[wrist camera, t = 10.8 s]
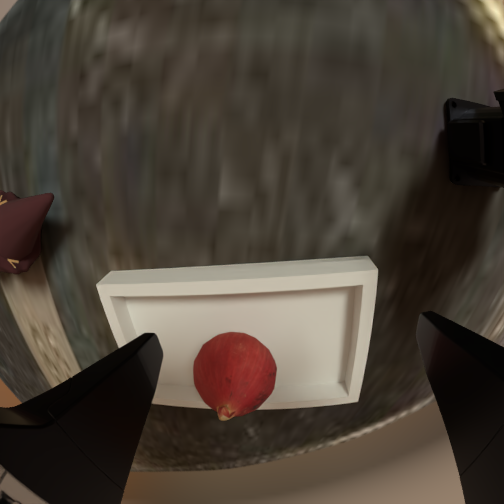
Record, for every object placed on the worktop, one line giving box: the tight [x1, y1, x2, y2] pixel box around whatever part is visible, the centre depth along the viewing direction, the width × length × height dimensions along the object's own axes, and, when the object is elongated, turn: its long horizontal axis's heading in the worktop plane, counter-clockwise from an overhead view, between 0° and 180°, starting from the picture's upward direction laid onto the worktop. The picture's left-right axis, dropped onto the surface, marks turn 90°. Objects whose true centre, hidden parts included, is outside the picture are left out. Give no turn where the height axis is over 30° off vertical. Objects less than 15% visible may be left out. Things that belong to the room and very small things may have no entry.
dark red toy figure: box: [0, 190, 54, 274], centre depth 18 cm, size 7×7×15 cm
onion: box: [193, 332, 277, 421], centre depth 19 cm, size 6×6×8 cm
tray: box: [96, 256, 378, 410], centre depth 22 cm, size 20×13×2 cm, turn 95°
